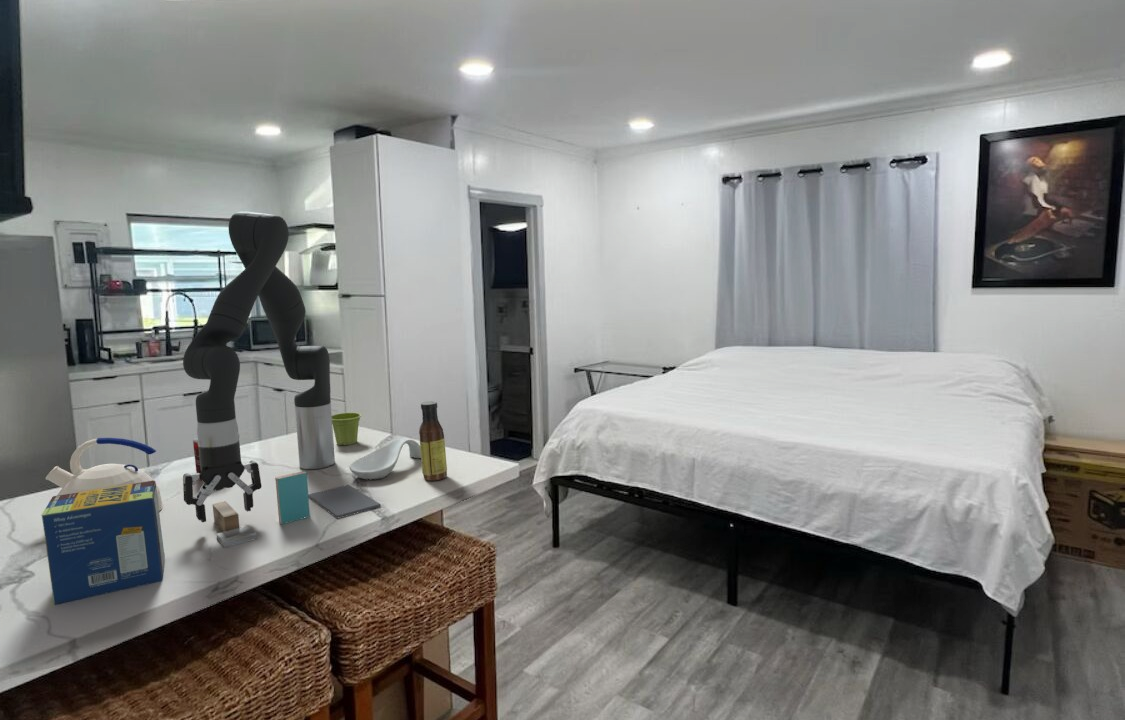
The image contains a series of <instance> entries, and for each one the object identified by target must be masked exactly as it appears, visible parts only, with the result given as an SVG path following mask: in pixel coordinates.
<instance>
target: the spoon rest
mask: <svg viewBox="0 0 1125 720" xmlns="http://www.w3.org/2000/svg"><path fill="white" fill-rule="evenodd" d="M406 444H407V446H408V448H409V450H408V451H409V457H410V458H412V457H414V458H413V459H419V458H421V449H420V443H418V442H417V441H416V440H414V439H407V438H403V437H402V438H401V437H400V438H395V439H394V440H392V441H390V442H388V443H387V444H385V445H383V446H382V447H379V448H377V449H376V450H374V451H372V452H370V453H368V454H366V455H364V456H362V457H359V458H358V459H356V460H354V461H353V462H352V463H350V465H349V470H350V472H351V473H352V474H353V475H354V476H356V477H358V478H360V479H363V480H368V479H369V480H372V479H374V480H380V479H384V478H385V476H386V477H387V476H388V475H389V474H390V473H392V471H393V470H394V469H395V467H396V464H397V462H398V460H399V457H400V454H401V450H402V448H404V447H403V446H404V445H406ZM379 478H380V479H379Z"/></svg>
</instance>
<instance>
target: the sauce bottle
mask: <svg viewBox="0 0 1125 720" xmlns="http://www.w3.org/2000/svg"><path fill="white" fill-rule="evenodd" d="M420 409H421V412H422V416H421V417H422V422H421V425H420V426H419V431H418V433H419V445H420V449H421V459H420V461H421V469H422V471H421V472H422V474H423V475H422V476H423V479H424V480H425V481H430V482H436V481H437V482H438V481H441V480H444V479H445V478H447V476H448V472H447V471H448V464H447V454H446V442H445V441H446V440H445V434H444V433H445V432H444V428H443V427H442V425H441V423H440V421H439V419H438V418H439V416H438V402H437V401H432V400H431V401H424V402H421V403H420Z"/></svg>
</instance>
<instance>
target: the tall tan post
mask: <svg viewBox="0 0 1125 720" xmlns="http://www.w3.org/2000/svg"><path fill="white" fill-rule="evenodd" d="M212 512H213V513H212V514H213V520H214V521H213V522H214V523H215V524H216V525H217V527H218V526H219V527H218V528H219V529H220V530H221V532H218V533H216V539H217V540H218V542H219V543H220V544H221V545H222V546H223V548H229V547H231V546H235V545H238V544H239V543H240V544H242V543H247V542H249V540H251V541H253V540H252V539H254V540H257V539H258V533H256V531H255V530H253V529H252V528H251V527H250V526H249V525H245V526H242V527H240V519H239V513H238V512H237V511H236V510H235V509H234V508H233V507H232V506H231V505H230V504H229V503H228V502H227V501H226V500H225V501H220V502H216V503H212ZM256 538H257V539H256ZM246 541H247V542H246ZM240 544H239V545H240Z"/></svg>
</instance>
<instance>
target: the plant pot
mask: <svg viewBox="0 0 1125 720" xmlns="http://www.w3.org/2000/svg"><path fill="white" fill-rule="evenodd" d="M361 417H362V414H361V413H359V412H343V413H342V412H340V413H336V414H332V426H333V434H334V437H335V443H336V445H338V446H342V445H344V446H349V445H355V444H356V443H357V442H358V433H359V423H360V419H361Z"/></svg>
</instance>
